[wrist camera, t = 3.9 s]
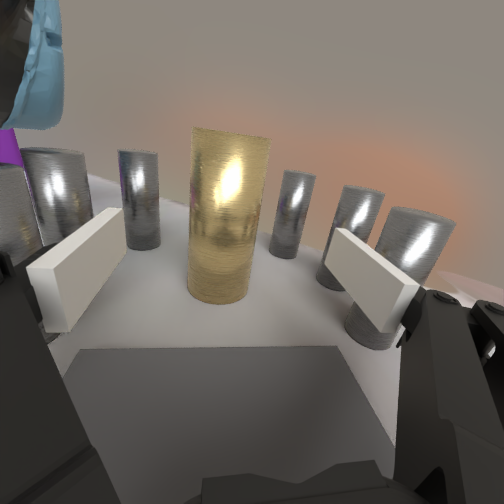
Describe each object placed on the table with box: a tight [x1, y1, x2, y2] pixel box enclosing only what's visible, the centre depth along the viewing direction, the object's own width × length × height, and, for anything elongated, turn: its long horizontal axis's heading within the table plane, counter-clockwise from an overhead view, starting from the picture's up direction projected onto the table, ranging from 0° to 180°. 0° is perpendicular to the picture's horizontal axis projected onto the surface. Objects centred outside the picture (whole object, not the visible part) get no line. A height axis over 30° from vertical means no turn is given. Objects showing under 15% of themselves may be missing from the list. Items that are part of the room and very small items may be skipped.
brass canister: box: [187, 127, 271, 304], centre depth 20 cm, size 6×6×13 cm
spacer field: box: [0, 148, 456, 350], centre depth 21 cm, size 29×18×10 cm, turn 98°
